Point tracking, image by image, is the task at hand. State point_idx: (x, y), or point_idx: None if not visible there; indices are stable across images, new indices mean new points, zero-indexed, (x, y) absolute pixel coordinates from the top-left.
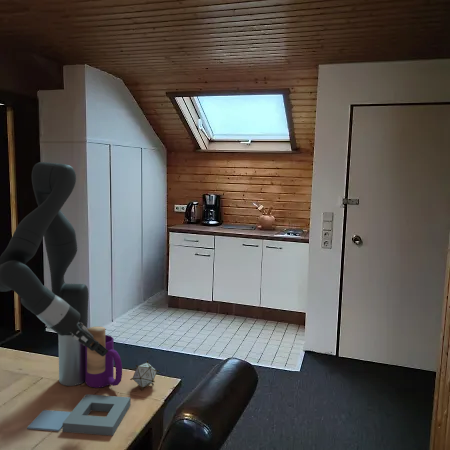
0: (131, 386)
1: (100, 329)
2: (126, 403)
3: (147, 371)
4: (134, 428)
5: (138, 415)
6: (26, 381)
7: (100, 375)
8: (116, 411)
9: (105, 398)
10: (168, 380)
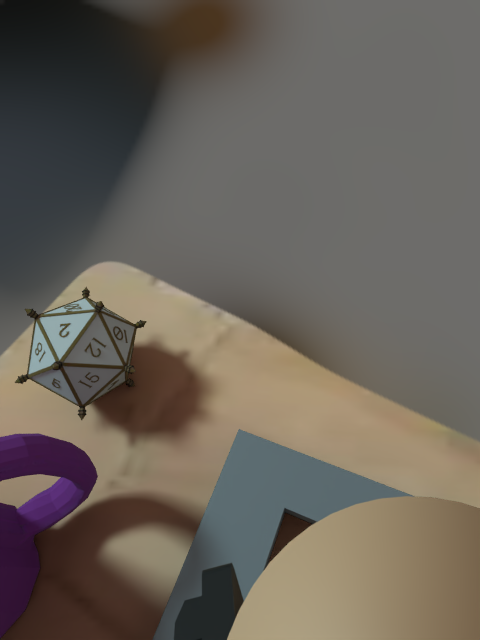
0: (83, 423)
1: (454, 622)
2: (288, 450)
3: (108, 327)
4: (425, 435)
5: (329, 413)
6: None
7: (4, 572)
8: (355, 501)
9: (218, 551)
10: (92, 285)
